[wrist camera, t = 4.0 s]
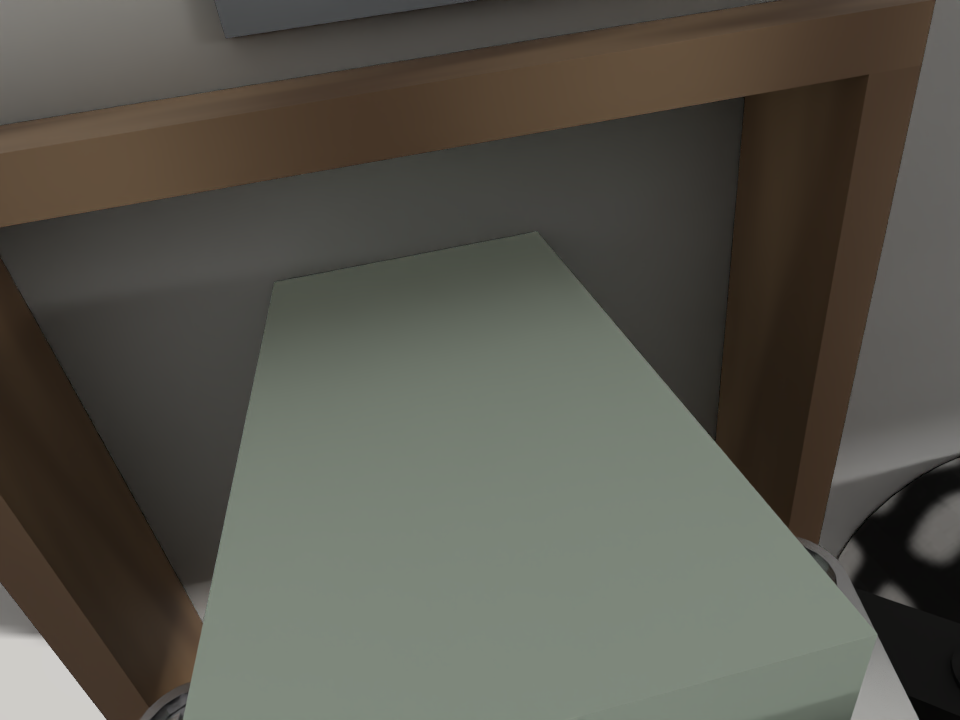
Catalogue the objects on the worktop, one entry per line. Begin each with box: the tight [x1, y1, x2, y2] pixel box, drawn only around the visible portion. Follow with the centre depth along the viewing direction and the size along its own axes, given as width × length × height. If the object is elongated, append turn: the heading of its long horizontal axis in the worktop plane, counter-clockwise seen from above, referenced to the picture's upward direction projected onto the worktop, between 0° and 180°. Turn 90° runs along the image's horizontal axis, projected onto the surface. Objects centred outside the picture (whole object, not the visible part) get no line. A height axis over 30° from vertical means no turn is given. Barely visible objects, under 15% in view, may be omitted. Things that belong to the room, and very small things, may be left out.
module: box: [183, 231, 878, 720], centre depth 10 cm, size 5×7×10 cm
